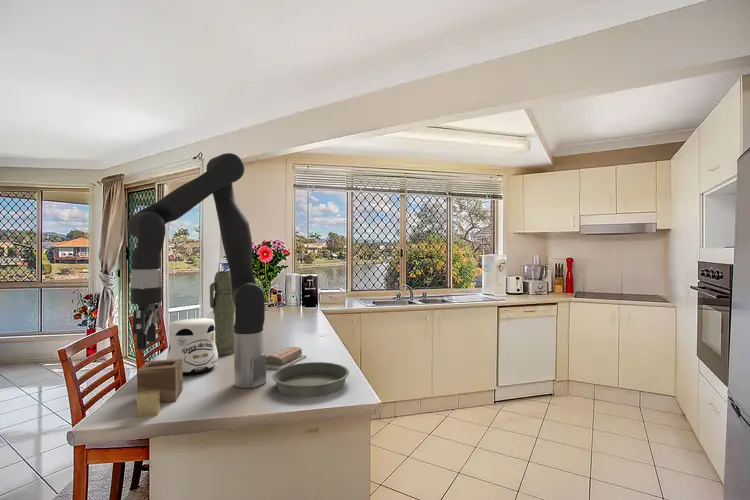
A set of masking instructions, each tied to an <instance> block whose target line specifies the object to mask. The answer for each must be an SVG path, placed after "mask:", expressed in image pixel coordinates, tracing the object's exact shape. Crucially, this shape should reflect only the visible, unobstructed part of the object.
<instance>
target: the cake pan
mask: <svg viewBox="0 0 750 500" xmlns="http://www.w3.org/2000/svg"><path fill="white" fill-rule="evenodd" d="M348 376H350V370H349V369H348V368H347V367H346V366H344V365H341V364H338V363H334V362H327V361H326V362H321V361H318V362H317V361H313V362H311V361H310V362H300V363H294V364H292V365H290V366H286V367H283V368H281V369H279V370H278V369H276V371H275V372H273V373H272V376H271V379H272V380H273V381H274V383H276V387H277V390H278V392H279V393H280V394H283V395H285V396H289V397H295V398H315V397H322V396H327V395H331V394H334V393H336V392H339V391H340V390H342V389H343V388H344V387H345V383H346V378H348Z"/></svg>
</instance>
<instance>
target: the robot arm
mask: <svg viewBox="0 0 750 500" xmlns="http://www.w3.org/2000/svg"><path fill="white" fill-rule="evenodd" d="M244 174H245V163H244V161H243V159H242V158H241V157H240V156H239V155H237V154H235V153H231V152H229V153H222V154H219V155H217V156H215V157H213V158H211V159H210V160H208V162H207V163H206V171H205V172H203V173H202V174H200V175H199V176H197V177H195V178H194V179H192V180H190V181H187V182H186V183H184V184H183V185H180V186H179V187H177V188H175V189H173V190H172V191H171V192H169V193H168V194H166V195H164V196H163V197H162V198H160V199H159V200H158V201H156V202H154V203H152V204H151V205H149V206H146V207H145V208H143V209H141V210H139V211H137V212H135V213H134V214H133V215H132V216H131V217H130V218H129V219H128V221H127V224H126V230H127V231H128V233H129V235H131V236H132V237H134V238H136V239H137V245H136V247H135V248H134V249H133V250H132V252H131V257H130V258H131V261H130V262H131V272H130V303H131V304H132V305H137V306H138V307H137V309H136V310H133V312H132V315H133V316H132V333H133V335H135V336H136V349H137V350H145V349H147V347H148V346H147V345H148V343H155V342H156V341H157V327H158V325H159V324H160V320H159V319H160V318H159V317H160V316H159V315H160V314H159V308H160V307H159V306H160V305H159V303H161V302H162V301H163V275H162V257H161V256H162V255H161V253H162V249H163V245H164V242H165V237H166V231H167V230H166V224H168V223H171V222H173V221H176V220H179V219H180V218H181V217H183V216H184V215H185V214H187V213H188V212H190V210H192V209H194V208H195V207H196V206H197V205H199V204H200V203H202V202H203V201H204V200H205V199H207V198H208V197H209V196H211V195H212V197H213V200H214V205H215V210H216V216H217V220H218V225H219V232H220V237H221V241H222V245H223V250H224V254H225V258H226V261H227V265H228V269H229V272H230V275H231V285H232V299H233V302H234V304H235V312H234V315H235V316H234V318H235V319H234V355H233V356H234V358H233V359H234V362H233V363H234V366H233V368H234V386H235V387H237V388H240V389H249V388H250V389H251V388H252V389H254V388H257V387H259V386H261V385H263V384H266V383H267V368H266V357H267V354H266V353H264V325H265V320H266V319H265V312H266V309H265V307H266V299H265V298H266V297H265V293H264V289H262V287H260V286H259V285H258V284H257V281H256V278H255V274H254V269H253V239H252V233H251V229H250V223H249V221H248V218H247V216H246V214H245V213H244V212H243V210H242V209H241V207H240V205H239V203H238V202H237V200H236V197H235V193H234V187H233V186H234V185H233V183H235V182H236V183H237V181H239V180H240V179H242V177H243V176H244Z"/></svg>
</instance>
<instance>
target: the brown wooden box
mask: <svg viewBox="0 0 750 500" xmlns="http://www.w3.org/2000/svg"><path fill="white" fill-rule="evenodd" d="M136 375H137V376H136V379H137V380H136V383H137V385H136V386H137V387H136V388H137V391H136V392H137V394H138V393H139V392H144V391H155V390H160V404H164V403H167V404H168V403H176V402H177V400H178V399H179V397H180V395H181V394H182V392H183V391H184V390H183V389H184V386H183V384H184V381H183V377H184V376H183V375H184V374H182V359H171V360H166V359H161V360H147V361H146V362H144V363H143V365H141V366H140V367H139V368H138V369H137V370H136ZM137 394H136V395H137Z"/></svg>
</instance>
